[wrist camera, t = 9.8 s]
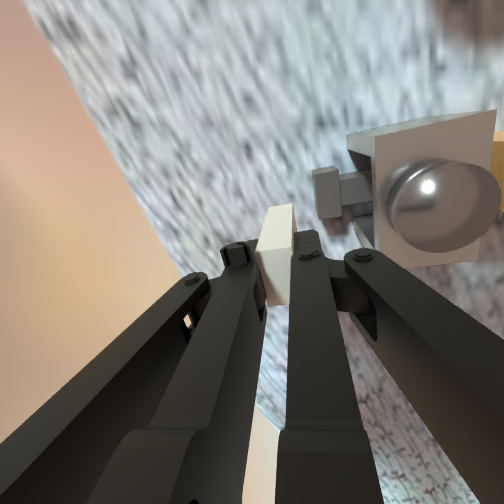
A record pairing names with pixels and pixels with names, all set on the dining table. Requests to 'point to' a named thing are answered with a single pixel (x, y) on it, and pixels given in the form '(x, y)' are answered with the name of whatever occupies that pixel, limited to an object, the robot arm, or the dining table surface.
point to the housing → (429, 188)
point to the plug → (360, 183)
